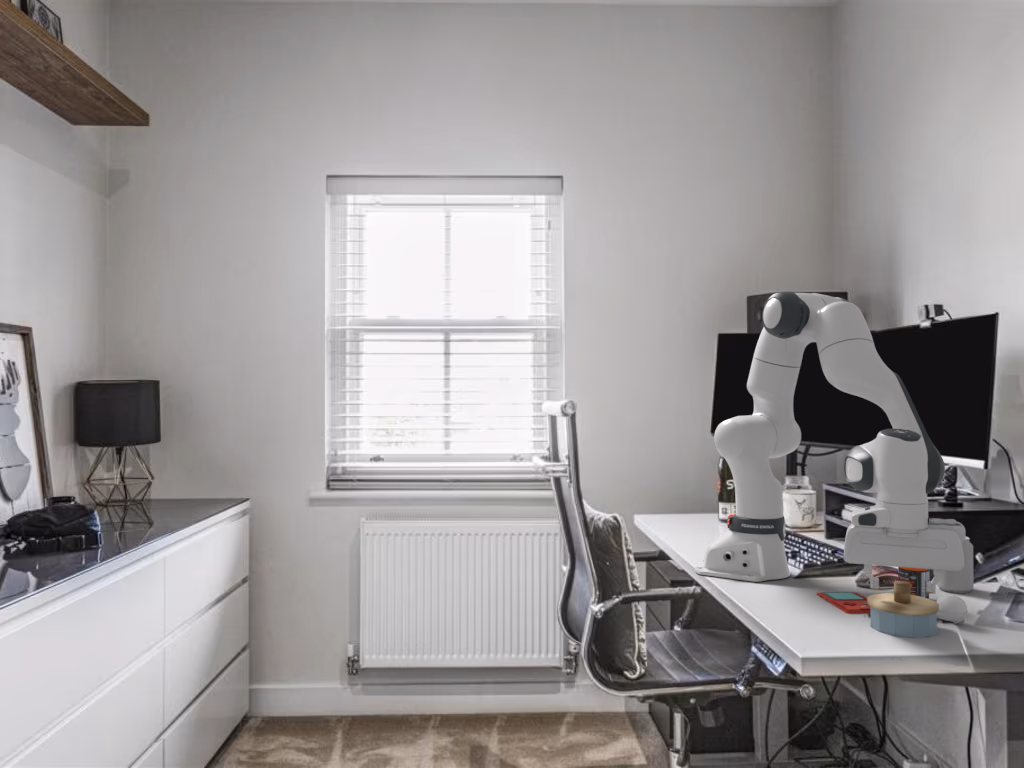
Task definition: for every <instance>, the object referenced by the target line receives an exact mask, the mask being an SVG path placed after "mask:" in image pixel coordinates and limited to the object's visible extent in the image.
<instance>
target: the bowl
mask: <svg viewBox="0 0 1024 768" xmlns="http://www.w3.org/2000/svg"><path fill="white" fill-rule="evenodd" d="M870 612H871V613H870V627H871V629H874V630H876V631H878V632H880V633H883V634H887V635H890V636H895V637H900V638H901V637H903V638H913V639H915V638H916V639H918V638H919V639H920V638H929V637H933V636H934V635H936V634H937V633H938V631H937V630H938V622H937V621H938V619H937V617H938V615H937V613H934V614H929V615H903V614H895V613H890V612H885V611H881V610H878V609H875V608H873V607H871V606H870Z"/></svg>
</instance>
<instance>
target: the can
mask: <svg viewBox="0 0 1024 768" xmlns="http://www.w3.org/2000/svg"><path fill="white" fill-rule="evenodd" d="M970 540H971V538H970V537H968V536H966V538H965V541H964V542H963V543H962V548H963V554H964V568H963V569H962V570H961V571H947V570H942V577H941V579H940V580H939V582H938V583H937V585H936V587H938V588H939V590H941V591H942V592H948V593H952V594H953V593H954V594H966V593H969V592H970V591H971V590H973V589H974V585H975V584H974V545H973V544H972V543H971V541H970Z"/></svg>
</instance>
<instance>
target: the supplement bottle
mask: <svg viewBox="0 0 1024 768" xmlns="http://www.w3.org/2000/svg"><path fill="white" fill-rule="evenodd" d="M897 581H905V582H909V583H911V595H915V596H920V597H924V598H927V599H930V593H927V592H926V587H927V586H926V582H930V569H920V568H907V567H897Z"/></svg>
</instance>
